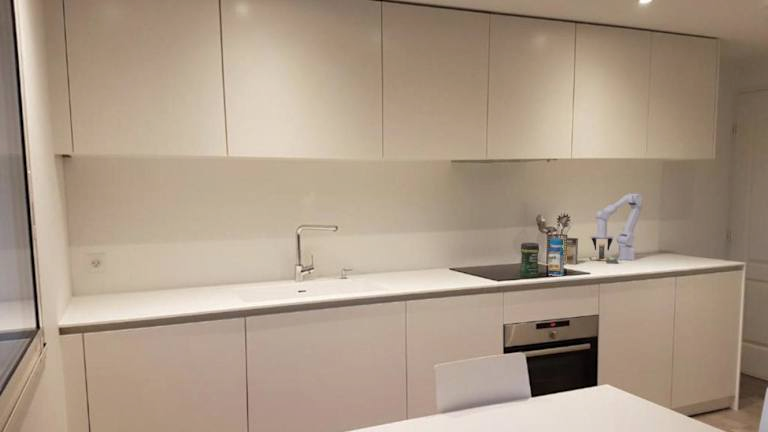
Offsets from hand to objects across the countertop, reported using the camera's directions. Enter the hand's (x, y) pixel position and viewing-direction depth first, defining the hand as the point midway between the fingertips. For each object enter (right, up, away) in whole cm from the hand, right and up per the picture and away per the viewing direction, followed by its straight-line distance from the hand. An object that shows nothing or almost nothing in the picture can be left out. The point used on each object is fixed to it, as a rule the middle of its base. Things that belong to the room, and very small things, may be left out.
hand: (601, 250), depth 343 cm
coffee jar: (-63, -11, -56) cm, 86 cm away
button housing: (+2, -7, -12) cm, 14 cm away
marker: (0, -6, 0) cm, 6 cm away
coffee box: (-26, -8, -13) cm, 30 cm away
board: (-1, -7, +1) cm, 7 cm away
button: (+2, -7, -12) cm, 14 cm away
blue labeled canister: (-48, -11, -53) cm, 72 cm away
